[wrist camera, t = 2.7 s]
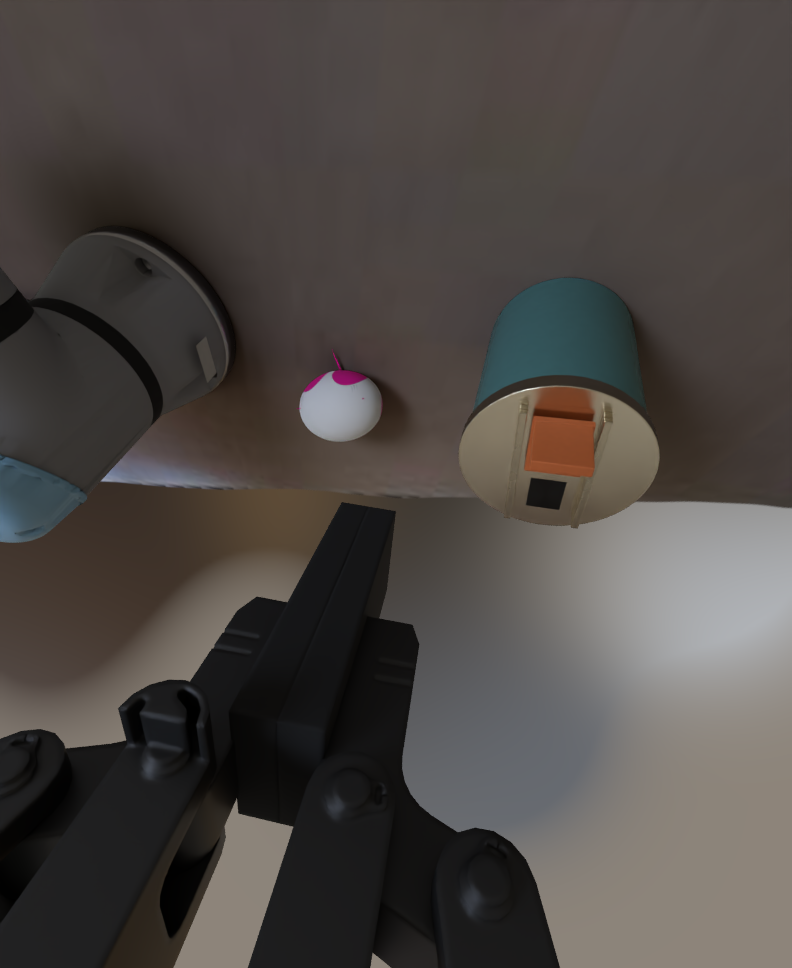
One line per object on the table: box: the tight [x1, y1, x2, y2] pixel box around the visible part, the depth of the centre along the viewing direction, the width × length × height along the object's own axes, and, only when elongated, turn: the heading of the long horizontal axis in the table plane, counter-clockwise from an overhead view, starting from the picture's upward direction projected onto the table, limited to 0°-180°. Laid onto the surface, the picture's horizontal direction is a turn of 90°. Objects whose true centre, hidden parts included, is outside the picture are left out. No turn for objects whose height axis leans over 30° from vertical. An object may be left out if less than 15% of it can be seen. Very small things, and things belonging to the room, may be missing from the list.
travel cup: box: [458, 278, 660, 528], centre depth 30 cm, size 11×11×14 cm
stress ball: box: [298, 351, 383, 442], centre depth 41 cm, size 8×8×7 cm
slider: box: [524, 416, 596, 477], centre depth 24 cm, size 4×3×3 cm
